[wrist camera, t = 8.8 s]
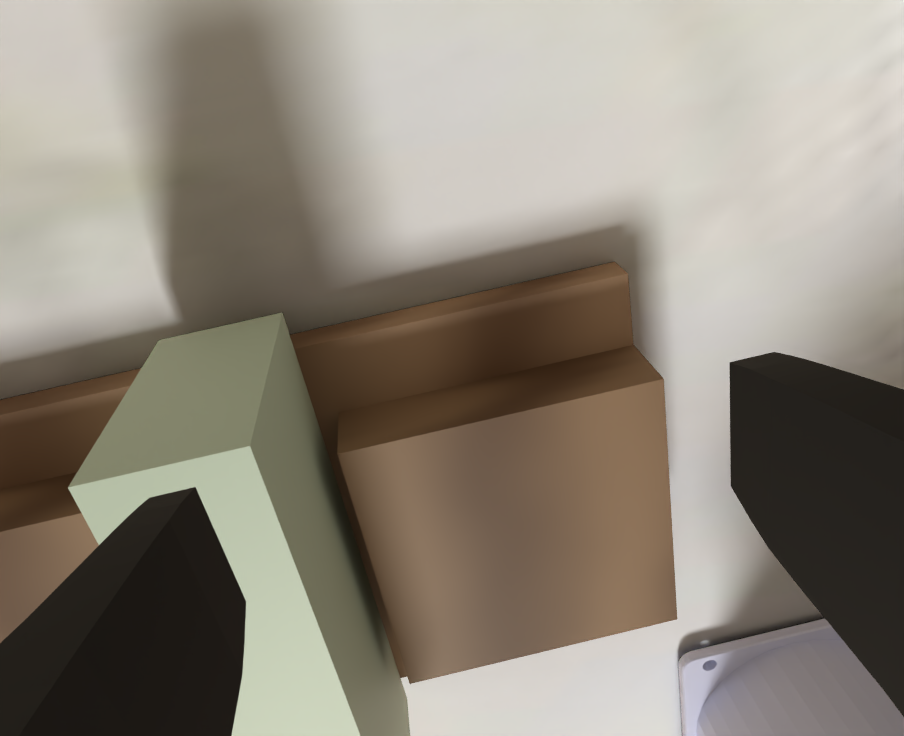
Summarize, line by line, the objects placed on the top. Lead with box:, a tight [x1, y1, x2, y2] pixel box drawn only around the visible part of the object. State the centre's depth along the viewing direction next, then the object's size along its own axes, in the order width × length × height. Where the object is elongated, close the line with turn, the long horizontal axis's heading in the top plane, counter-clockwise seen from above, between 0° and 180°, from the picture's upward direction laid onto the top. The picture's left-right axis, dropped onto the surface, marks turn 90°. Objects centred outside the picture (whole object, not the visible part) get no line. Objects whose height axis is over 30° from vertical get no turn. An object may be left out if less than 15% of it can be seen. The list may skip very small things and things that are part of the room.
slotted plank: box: [0, 262, 677, 684], centre depth 19 cm, size 20×12×3 cm, turn 101°
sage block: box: [68, 313, 410, 736], centre depth 17 cm, size 14×3×6 cm, turn 11°
